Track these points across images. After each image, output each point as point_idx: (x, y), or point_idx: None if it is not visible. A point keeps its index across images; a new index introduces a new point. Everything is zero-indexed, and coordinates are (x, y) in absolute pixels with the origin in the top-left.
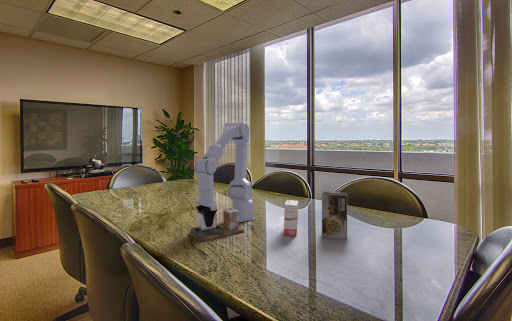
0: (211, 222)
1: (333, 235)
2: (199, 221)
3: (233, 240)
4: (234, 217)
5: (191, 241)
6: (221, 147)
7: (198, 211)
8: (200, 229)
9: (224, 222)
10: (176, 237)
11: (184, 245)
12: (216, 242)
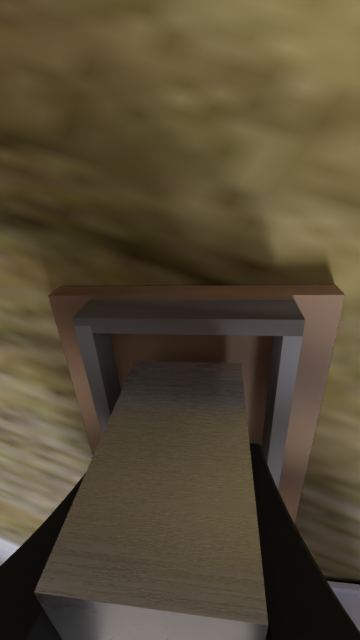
0: None
1: None
2: (159, 446)
3: (21, 452)
4: None
5: (106, 236)
6: None
7: (330, 635)
8: (150, 376)
9: None
10: (315, 119)
11: (28, 140)
12: (18, 377)
